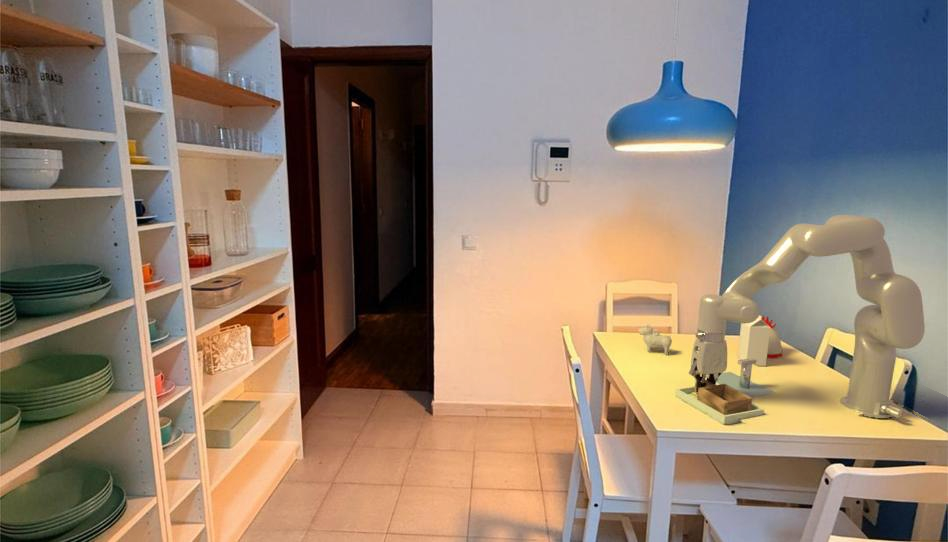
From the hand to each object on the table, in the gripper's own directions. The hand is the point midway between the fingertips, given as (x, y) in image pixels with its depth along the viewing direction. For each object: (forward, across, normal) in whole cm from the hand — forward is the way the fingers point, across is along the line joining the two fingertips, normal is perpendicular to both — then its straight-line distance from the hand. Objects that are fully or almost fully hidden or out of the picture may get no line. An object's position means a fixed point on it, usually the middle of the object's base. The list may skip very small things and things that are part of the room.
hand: (705, 392), depth 149 cm
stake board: (+2, +18, +4) cm, 19 cm away
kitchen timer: (+3, +55, +28) cm, 62 cm away
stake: (+2, +18, +2) cm, 18 cm away
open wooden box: (+1, 0, -5) cm, 5 cm away
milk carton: (+3, +41, +20) cm, 46 cm away
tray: (+2, 0, -5) cm, 6 cm away
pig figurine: (+3, +14, +41) cm, 43 cm away
